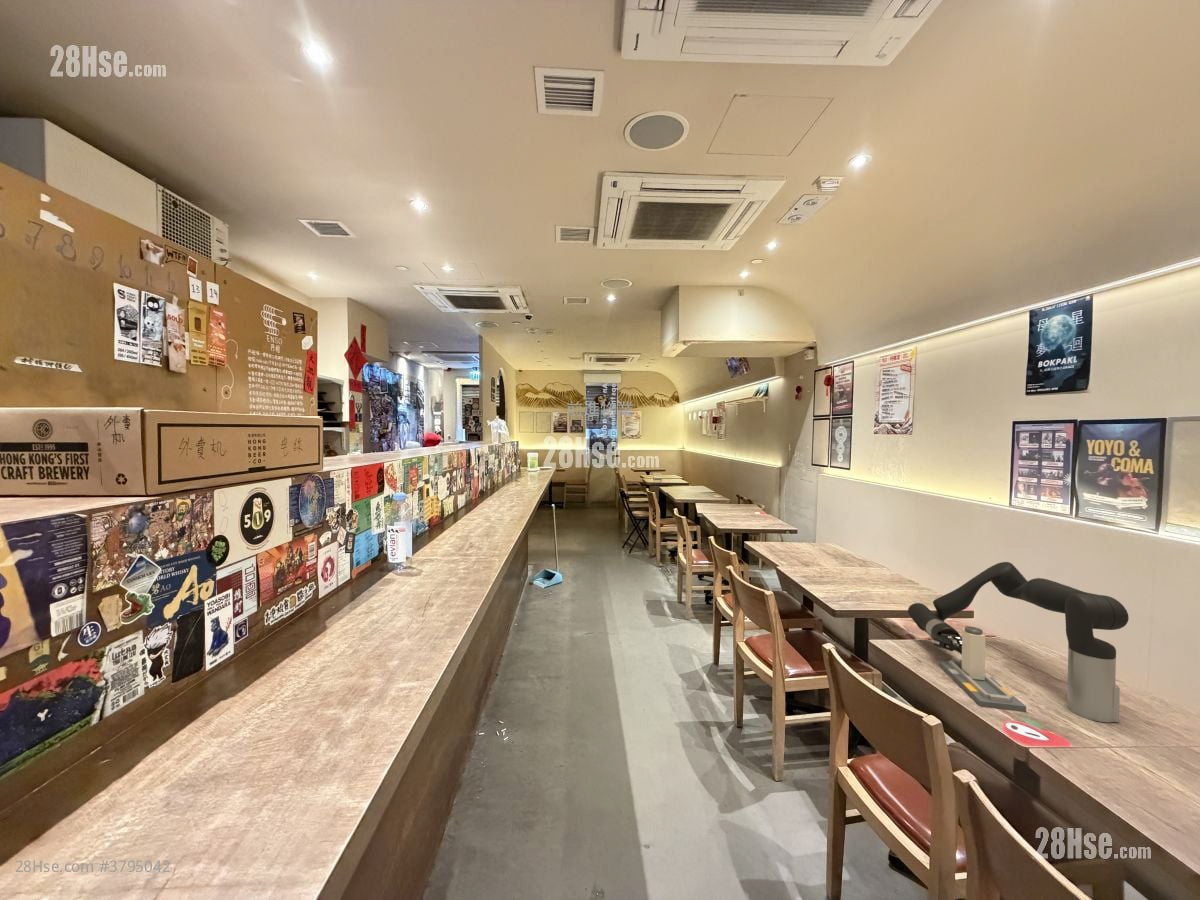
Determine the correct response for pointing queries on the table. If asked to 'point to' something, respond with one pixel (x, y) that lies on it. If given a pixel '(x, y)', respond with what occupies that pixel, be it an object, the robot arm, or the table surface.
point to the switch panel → (982, 688)
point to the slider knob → (973, 652)
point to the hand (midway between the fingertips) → (967, 654)
